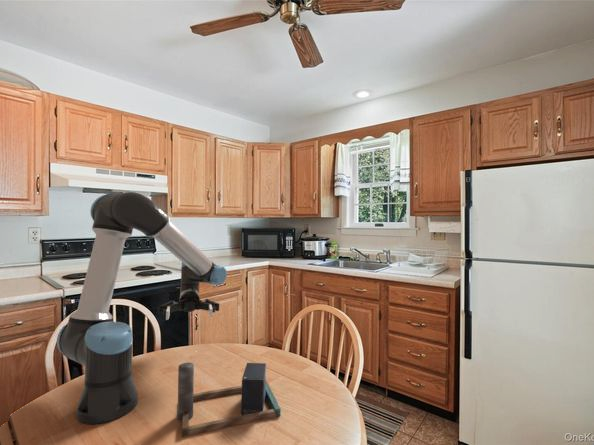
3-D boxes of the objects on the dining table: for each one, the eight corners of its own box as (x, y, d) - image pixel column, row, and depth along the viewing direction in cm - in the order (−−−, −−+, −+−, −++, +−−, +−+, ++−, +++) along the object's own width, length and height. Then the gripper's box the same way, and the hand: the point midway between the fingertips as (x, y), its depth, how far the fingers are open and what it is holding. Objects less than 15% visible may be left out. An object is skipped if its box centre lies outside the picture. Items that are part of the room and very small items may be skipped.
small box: (263, 416, 85) (264, 379, 85) (240, 417, 85) (240, 379, 85) (266, 395, 96) (266, 362, 96) (245, 395, 96) (246, 362, 96)
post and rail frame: (176, 437, 76) (177, 381, 76) (178, 401, 92) (179, 354, 92) (280, 415, 85) (281, 365, 85) (265, 386, 101) (266, 343, 101)
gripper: (221, 308, 124) (228, 323, 104) (154, 311, 116) (147, 328, 96) (222, 289, 124) (228, 301, 104) (155, 291, 116) (148, 304, 96)
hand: (189, 314), depth 100 cm, fingers open, 13 cm apart
